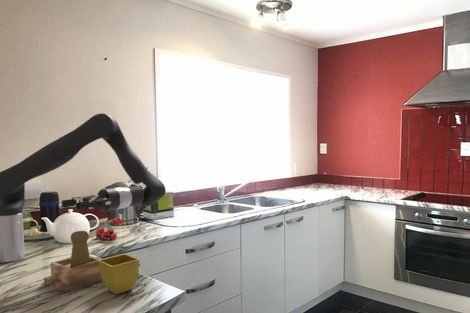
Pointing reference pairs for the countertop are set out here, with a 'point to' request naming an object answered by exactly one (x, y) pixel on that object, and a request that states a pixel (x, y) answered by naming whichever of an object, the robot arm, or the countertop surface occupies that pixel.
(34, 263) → the countertop surface
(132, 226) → the countertop surface
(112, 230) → the toy fire truck
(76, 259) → the cork
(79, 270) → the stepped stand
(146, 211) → the tea box
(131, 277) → the flower pot
